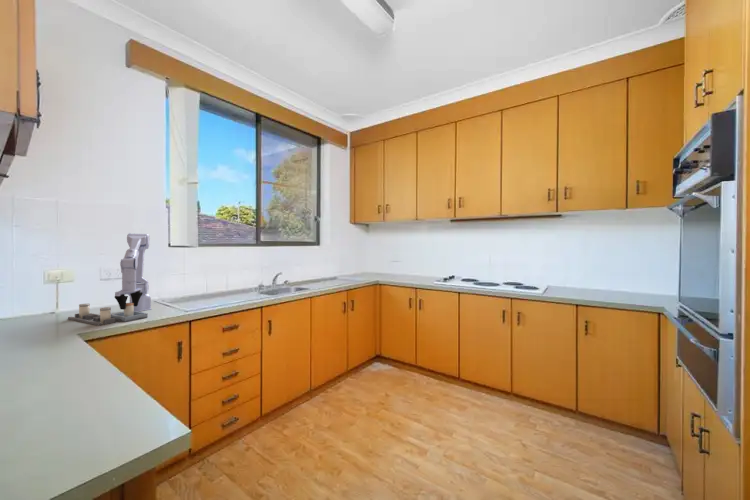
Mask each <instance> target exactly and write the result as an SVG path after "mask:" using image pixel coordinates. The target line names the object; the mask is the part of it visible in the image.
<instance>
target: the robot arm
mask: <svg viewBox="0 0 750 500" xmlns="http://www.w3.org/2000/svg"><path fill="white" fill-rule="evenodd" d="M150 239H151V238H150V234H149V233H131V232H128V233H127V236H126V243H127V244H128V247H129V248H128V249H127V250H126V251H125V254H124V256H123V258H122V259H120V262H119V264H120V272H121V289H120V290H118V291H115V292H114V298H115V300H116V302H117V303H118V307H119V309H120V310H123V311H124V309H125V308H126V303H127V300H128V298H129V303H134V311H137V312H145V311H149V310H152V304H151V303H152V301H151V300H152V299H151V298H152V297H151V295H150V294H149V280H147V279H146V278H144V265H145V263H144V261H145V252H146V250H148V249H150Z"/></svg>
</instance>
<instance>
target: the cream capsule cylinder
mask: <svg viewBox="0 0 750 500" xmlns="http://www.w3.org/2000/svg"><path fill="white" fill-rule="evenodd" d="M90 305H91V304H90V303H81V304H78V313H79V318H80V319H82V316H83V315H89V314H90V311H91V309H90Z"/></svg>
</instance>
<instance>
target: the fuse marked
mask: <svg viewBox="0 0 750 500" xmlns="http://www.w3.org/2000/svg"><path fill="white" fill-rule="evenodd" d="M123 312H124V317H129V316H134V303H130V302H126V308H125V309H124V310H123Z"/></svg>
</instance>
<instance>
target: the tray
mask: <svg viewBox="0 0 750 500" xmlns="http://www.w3.org/2000/svg"><path fill="white" fill-rule="evenodd" d="M111 317H113V318H118V319H121V321H120V322H123V323H127V322H133V321H137V320H142V319H146V318H148V317H149V316H148V313H147V312H144V311H139V312H137V311H134V316H129V317H124V311H122V312H117V313H111Z"/></svg>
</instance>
